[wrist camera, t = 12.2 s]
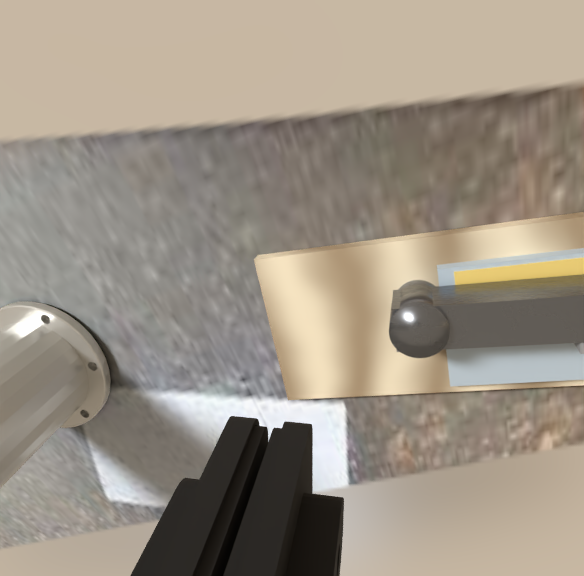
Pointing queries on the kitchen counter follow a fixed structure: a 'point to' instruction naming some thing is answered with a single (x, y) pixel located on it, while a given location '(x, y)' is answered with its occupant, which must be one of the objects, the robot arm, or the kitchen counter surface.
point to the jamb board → (381, 305)
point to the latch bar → (487, 315)
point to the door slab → (514, 359)
